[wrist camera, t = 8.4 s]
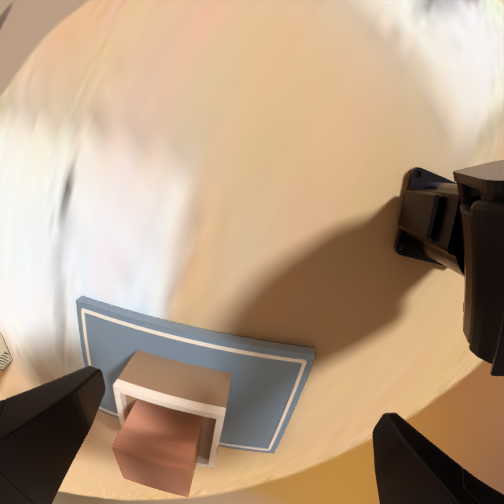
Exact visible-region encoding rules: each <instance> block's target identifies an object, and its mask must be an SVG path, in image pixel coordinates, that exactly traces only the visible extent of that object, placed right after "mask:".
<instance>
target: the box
mask: <svg viewBox="0 0 504 504" xmlns="http://www.w3.org/2000/svg"><path fill="white" fill-rule="evenodd" d="M10 362H12V358H11V356H10V354H9V351H8V349H7V347H6V344H5V342H4V339H3V337H2V335H1V334H0V372H1V371H2V370H3V369H4V368H5V367H6V366H7V365H8V364H9V363H10Z"/></svg>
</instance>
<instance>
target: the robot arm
mask: <svg viewBox="0 0 504 504" xmlns="http://www.w3.org/2000/svg"><path fill="white" fill-rule="evenodd" d="M416 172H418V173H419V176H418V177H417V176H416ZM453 174H454V180H455V181H456V182H457V183H455V182H452V181H450V180H448V179H446V178H443V177H441V176H439V175H437V174H434V173H432V172H429V171H427V170H424V169H422V168H419V167H415V168H413V169H412V170H411V173H410V179H409V184H408V189H407V191H406V192H405V196H404V201H403V206H402V210H401V215H400V219H399V223H398V225H399V230H398V234H397V238H396V242H395V245H394V250H395V252H396V253H398V254H400V255H403V256H407V257H411V258H415V259H419V260H424V261H428V262H432V263H436V264H440V265H444V266H446V267H448V268H450V269H452V270H453V271H455V272H457V273H459V274H460V275H462V276H464V277H465V294H464V303H463V312H464V316H463V332H464V334H465V336H466V338H467V341H468V342H469V343H470V345H469V349H470V350H471V351H472V352H473V353H474V354H475V355H476V356H477V357H479V358H481V359H483V360H485V361H487V362H488V363H491V364H493V365H492V369H491V375H492V376H504V160H501V161H495V162H491V163H486V164H482V165H478V166H473V167H469V168H465V169H461V170H457V171H453ZM401 245H403V248H402V250H399V247H400V246H401ZM105 390H106V387H105V382H104V377H103V373H102V371H101V369H99V368H96V367H94V366H87V367H85V368H82V369H80V370H77V371H75V372H73V373H70V374H68V375H65V376H63V377H61V378H58V379H56V380H53V381H51V382H48V383H46V384H43V385H41V386H38V387H36V388H33V389H30V390H28V391H25V392H23V393H20V394H17V395H15V396H12V397H9V398H7V399H5V400H1V401H0V504H52V502H53V500H54V498H55V496H56V493H57V492H58V490H59V488H60V485H61V483H62V481H63V479H64V477H65V475H66V473H67V472H68V470H69V468H70V466H71V464H72V462H73V460H74V458H75V456H76V454H77V452H78V450H79V449H80V447H81V445H82V443H83V441H84V439H85V438H86V436H87V434H88V432H89V430H90V428H91V426H92V423H93V421H94V418H95V416H96V413H97V411H98V409H99V406H100V404H101V401H102V399H103V397H104V394H105ZM373 448H374V466H375V475H376V481H377V487H378V494H379V501H380V504H504V495H503V494H502V493H500V492H498V491H496V490H495V489H493V488H491V487H490V486H488V485H486V484H485V483H483V482H482V481H480V480H479V479H477V478H476V477H474V476H473V475H472V474H470V473H469V472H468V471H467V470H465V469H463V468H462V467H461V466H460V465H459V464H458V463H456V462H455V461H454V460H453V459H451V458H450V457H449V456H448V455H446V454H445V453H444V452H443V451H441V450H440V449H439V448H438V447H437V446H435V445H434V444H433V443H432V442H430V441H429V440H428V439H427V438H425V437H424V436H423V435H422V434H421V433H419V432H418V431H417V430H416V429H415V428H413V427H412V426H411V425H410V424H409V423H407V422H406V421H405V420H404V419H403V418H402V417H400V416H399V415H398V414H397V413H385V414H383V415H382V417H381V418H380V420H379V421H378V423H377V424H376V426H375V428H374V430H373Z"/></svg>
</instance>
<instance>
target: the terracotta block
mask: <svg viewBox="0 0 504 504" xmlns="http://www.w3.org/2000/svg"><path fill="white" fill-rule="evenodd" d="M202 418H203V416H198V415H194V414H189V413H185V412H181V411H177V410H173V409H170V408H166V407H162V406H159V405H155V404H152V403H149V402H145V401H142V400H139V399H137V400H136V402H135V404H134V406H133V408H132V409H131V411H130V413H129V415H128V417H127V419H126V421H125V423H124V425H123V427H122V429H121V430H120V432H119V434H118V436H117V438H116V440H115V442H114V444H113V446H112V448H113V451H114V454H115V456H116V459H117V462H118V465H119V467H120V470H121V472H122V475H123V477H124V478H125V479H128V480H131V481H134V482H136V483H139V484H142V485H145V486H149V487H152V488H155V489H159V490H162V491H166V492H169V493H173V494H177V495H181V496H186V497H188V496H189V491H190V487H191V483H192V478H193V474H194V470H195V465H196V461H197V457H198V452H199V445H200V436H201V427H202Z"/></svg>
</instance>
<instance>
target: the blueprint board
mask: <svg viewBox="0 0 504 504" xmlns="http://www.w3.org/2000/svg"><path fill="white" fill-rule="evenodd" d="M76 304H77V314H78V323H79V331H80V338H81V345H82V351H83V357H84V362H85V367H87V366H94V367H96V368H99V369H101V371H102V373H103V377H104V382H105V387H106V390H105V394H104V397H103V399H102V401H101V404H100V406H99V409H98V410H99V411H101V412H104V413H106V414H109V415H111V416H114V417H116V418H119V421H120V425H121V429H122V427H123V425H124V423H125V421H126V419H127V417H128V415H129V413H130V411H131V409H132V408H133V406H134V404H135V402H136V400H137V399H139V400H142V401H145V402H149V403H152V404H155V405H159V406H162V407H166V408H170V409H173V410H177V411H181V412H185V413H189V414H194V415H198V416H203V418H202V427H201V436H200V445H199V452H198V457H197V461H196V465H198V466H203V467H208V468H214V464H215V460H216V455H217V450H218V446H221V447H227V448H233V449H240V450H247V451H256V452H265V453H274V452H275V450H276V448H277V446H278V444H279V442H280V440H281V438H282V435H283V433H284V431H285V429H286V427H287V425H288V422H289V420H290V418H291V416H292V413H293V411H294V409H295V406H296V404H297V402H298V399H299V397H300V395H301V392H302V390H303V387H304V385H305V382H306V380H307V377H308V375H309V372H310V370H311V367H312V364H313V362H314V359H315V356H316V353H315V349H314V348H311V347H303V346H296V345H289V344H282V343H276V342H269V341H263V340H257V339H252V338H246V337H241V336H235V335H230V334H225V333H220V332H215V331H211V330H206V329H201V328H197V327H192V326H188V325H184V324H179V323H175V322H171V321H167V320H163V319H159V318H155V317H152V316H148V315H144V314H140V313H137V312H133V311H130V310H126V309H123V308H119V307H116V306H113V305H109V304H106V303H103V302H100V301H97V300H94V299H90V298H87V297H84V296H81V297H80V298H79V299H77V300H76Z"/></svg>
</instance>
